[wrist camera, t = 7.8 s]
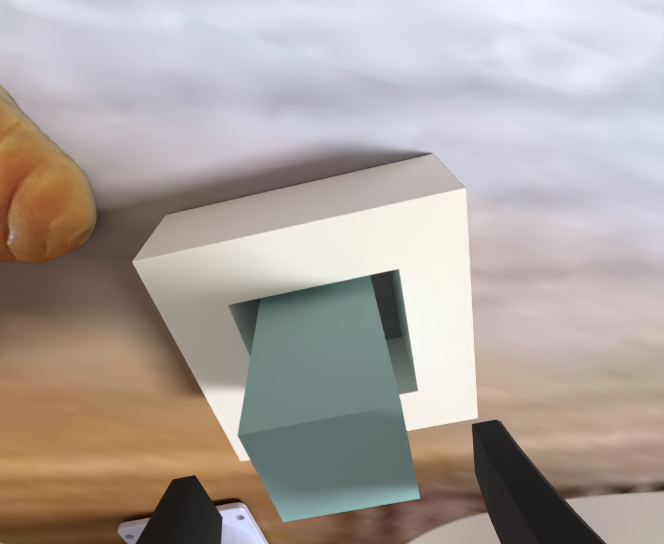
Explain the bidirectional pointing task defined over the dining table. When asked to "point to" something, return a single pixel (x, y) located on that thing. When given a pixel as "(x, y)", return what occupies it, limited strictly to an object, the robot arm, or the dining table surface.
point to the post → (325, 404)
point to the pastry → (39, 192)
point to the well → (326, 279)
